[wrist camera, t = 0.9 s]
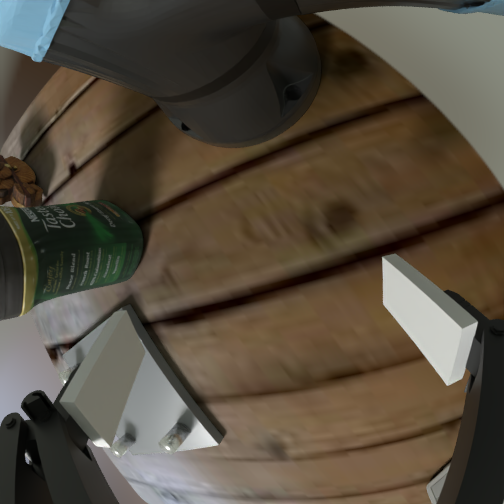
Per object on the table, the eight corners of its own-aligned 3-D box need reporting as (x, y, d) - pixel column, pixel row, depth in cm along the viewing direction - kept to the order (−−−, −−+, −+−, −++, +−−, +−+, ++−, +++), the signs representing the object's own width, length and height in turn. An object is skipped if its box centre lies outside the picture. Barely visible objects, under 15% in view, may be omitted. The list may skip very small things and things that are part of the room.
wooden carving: (56, 183, 34) (-2, 185, 25) (49, 212, 36) (-7, 218, 26) (19, 150, 38) (-26, 149, 28) (14, 174, 39) (-30, 175, 30)
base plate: (68, 352, 39) (44, 364, 34) (129, 303, 32) (97, 318, 27) (137, 450, 38) (119, 468, 33) (223, 437, 31) (204, 465, 26)
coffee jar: (156, 228, 29) (-15, 259, 12) (133, 289, 32) (-9, 347, 14) (101, 189, 31) (-43, 195, 14) (84, 245, 34) (-44, 274, 16)
